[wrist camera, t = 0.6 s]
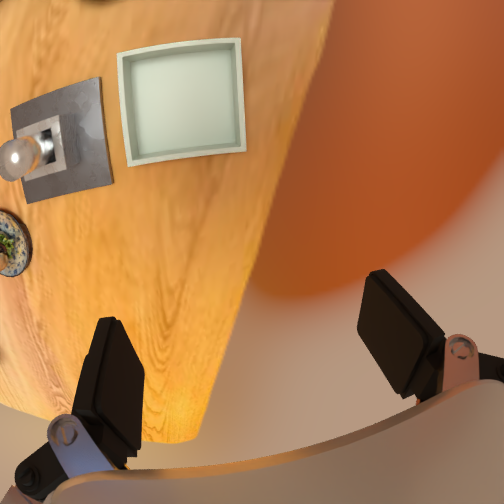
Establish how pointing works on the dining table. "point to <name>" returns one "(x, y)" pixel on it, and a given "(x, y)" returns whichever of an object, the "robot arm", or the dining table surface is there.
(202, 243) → the dining table surface
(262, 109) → the dining table surface
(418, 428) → the robot arm
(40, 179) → the stud block
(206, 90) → the bin
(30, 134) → the grey piece
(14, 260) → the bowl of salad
